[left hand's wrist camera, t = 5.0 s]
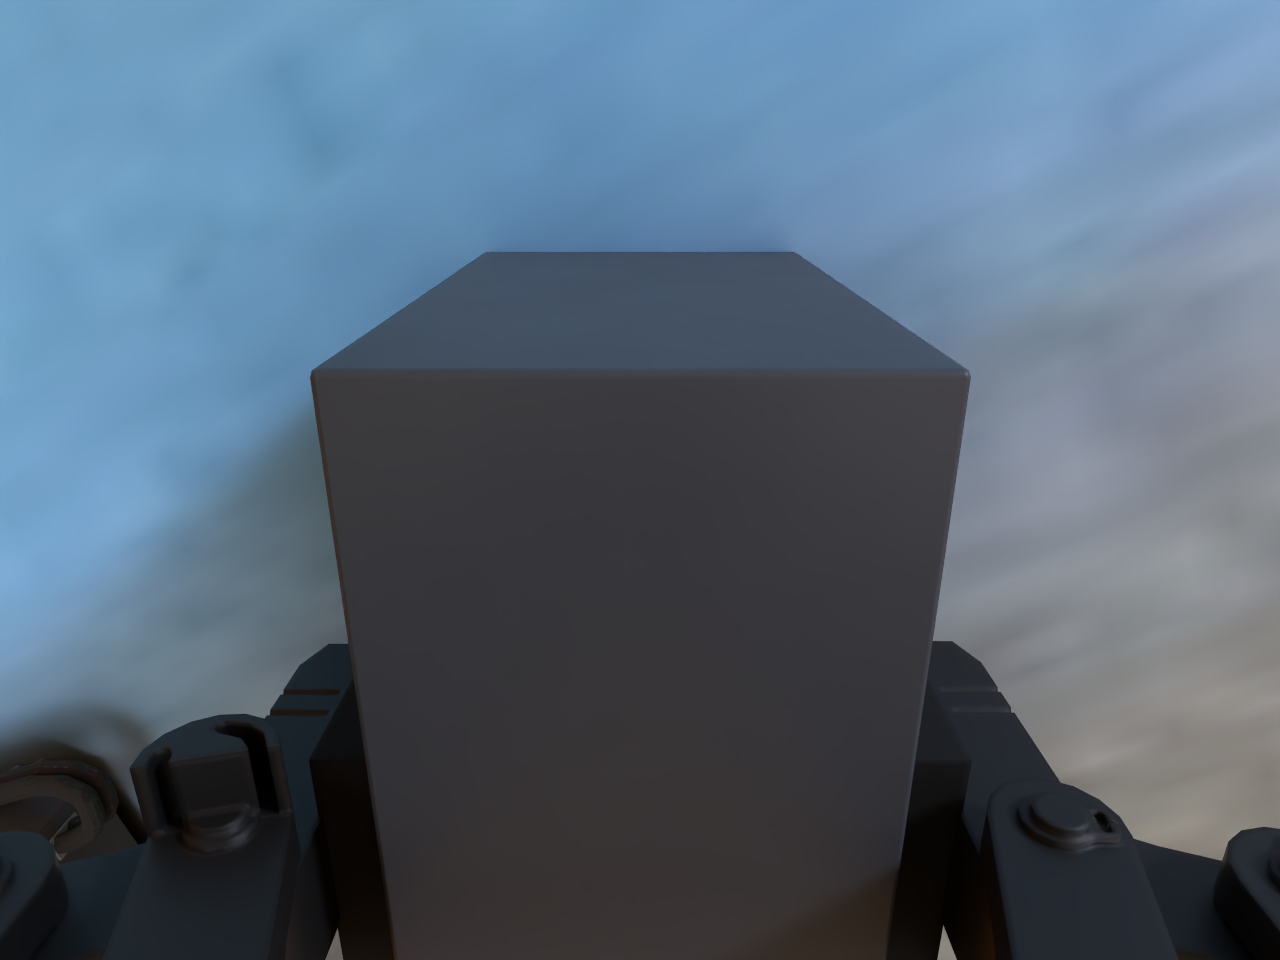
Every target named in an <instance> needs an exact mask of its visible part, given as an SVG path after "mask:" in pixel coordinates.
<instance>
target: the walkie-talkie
mask: <svg viewBox="0 0 1280 960" xmlns="http://www.w3.org/2000/svg"><path fill="white" fill-rule="evenodd" d="M118 804H119V800H118V797H117V794H116V791H115V788H114V786H113V783H112V780H111V779H110V778H109V776H108V775H107V774H106V773H105V772H104V771H102V770H101V769H99V768H96V767H94V766H91V765H89V764H87V763H84V762H82V761H79V760H46V759H43V758H40V759H38V760H37V761H36V762H35V763H32V764H29V765H27V764H19V765H16V766H13V767H12V768H11V769H10V770H8V771H4V772H2V771H0V833H2V832H9V831H16V830H19V831H25V832H32V833H38V834H41V835H42V836H43V837H45V838H46V839H47V840H48V841H49V842H50V843H52V844H53V846H54V849H55V852H56V855H57V858H58V861H59V864H63V863H67V862H72V861H76V860H80V859H84V858H89V857H93V856H97V855H102V854H106V853H110V852H115V851H119V850H123V849H127V848H130V847H133V846H136V845H138V844H137V843H136V841H135V840H134V838H133V837H132V835H131V834H130V833H129V831H128V830H127V828H126V827H125V825H124V824H123V822H122V821H121V820H120V818H119V817H118V815H117V814H116V810H117V807H118Z"/></svg>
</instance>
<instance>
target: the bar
mask: <svg viewBox="0 0 1280 960" xmlns="http://www.w3.org/2000/svg"><path fill="white" fill-rule="evenodd" d="M970 378H971V376H970V373H969V370H967V369H966V368H964V367H963V366H961V365H960V364H958V363H957V362H955V361H954V360H952V359H951V358H950V357H948V356H947V355H945V354H944V353H942V352H941V351H939V350H938V349H936V348H935V347H933V346H932V345H930V344H929V343H927V342H926V341H925V340H923V339H922V338H920V337H919V336H917V335H916V334H914V333H913V332H911V331H910V330H908V329H907V328H905V327H904V326H902V325H901V324H900V323H898V322H897V321H895V320H894V319H892V318H891V317H889V316H888V315H886V314H885V313H883V312H882V311H880V310H879V309H877V308H876V307H875V306H873V305H872V304H870V303H869V302H867V301H866V300H864V299H863V298H861V297H860V296H858V295H857V294H855V293H854V292H852V291H851V290H850V289H848V288H847V287H845V286H844V285H842V284H841V283H839V282H838V281H836V280H835V279H833V278H832V277H830V276H829V275H827V274H826V273H825V272H823V271H822V270H820V269H819V268H817V267H816V266H814V265H813V264H811V263H810V262H808V261H807V260H805V259H804V258H802V257H801V256H800V255H798V254H796V253H794V252H486V253H484V254H482V255H481V256H480V257H478V258H477V259H475V260H474V261H472V262H471V263H469V264H468V265H466V266H465V267H463V268H462V269H460V270H459V271H457V272H456V273H455V274H453V275H452V276H450V277H449V278H447V279H446V280H444V281H443V282H441V283H440V284H438V285H437V286H435V287H434V288H433V289H431V290H430V291H428V292H427V293H425V294H424V295H422V296H421V297H419V298H418V299H416V300H415V301H413V302H412V303H411V304H409V305H408V306H406V307H405V308H403V309H402V310H400V311H399V312H397V313H396V314H394V315H393V316H391V317H390V318H388V319H387V320H386V321H384V322H383V323H381V324H380V325H378V326H377V327H375V328H374V329H372V330H371V331H369V332H368V333H366V334H365V335H364V336H362V337H361V338H359V339H358V340H356V341H355V342H353V343H352V344H350V345H349V346H347V347H346V348H344V349H343V350H342V351H340V352H339V353H337V354H336V355H334V356H333V357H331V358H330V359H328V360H327V361H325V362H324V363H322V364H321V365H319V366H318V367H317V368H315V369H314V370H312V372H311V376H310V380H311V386H312V393H313V400H314V407H315V414H316V421H317V428H318V435H319V442H320V449H321V456H322V463H323V470H324V476H325V483H326V490H327V497H328V504H329V511H330V518H331V525H332V532H333V539H334V546H335V553H336V560H337V567H338V573H339V580H340V587H341V594H342V601H343V608H344V615H345V622H346V629H347V636H348V643H349V650H350V657H351V663H352V670H353V677H354V684H355V691H356V698H357V705H358V712H359V719H360V726H361V733H362V740H363V747H364V754H365V760H366V767H367V774H368V781H369V788H370V795H371V802H372V809H373V816H374V823H375V830H376V837H377V844H378V850H379V857H380V864H381V871H382V878H383V885H384V892H385V899H386V906H387V913H388V920H389V927H390V934H391V941H392V947H393V954H394V960H886V959H887V952H888V945H889V938H890V931H891V924H892V917H893V910H894V903H895V897H896V890H897V883H898V876H899V869H900V862H901V855H902V848H903V841H904V834H905V827H906V821H907V814H908V807H909V800H910V793H911V786H912V779H913V772H914V765H915V758H916V751H917V745H918V738H919V731H920V724H921V717H922V710H923V703H924V696H925V689H926V682H927V675H928V669H929V662H930V655H931V648H932V641H933V634H934V627H935V620H936V613H937V606H938V599H939V592H940V586H941V579H942V572H943V565H944V558H945V551H946V544H947V537H948V530H949V523H950V516H951V510H952V503H953V496H954V489H955V482H956V475H957V468H958V461H959V454H960V447H961V440H962V434H963V427H964V420H965V413H966V406H967V399H968V392H969V385H970Z"/></svg>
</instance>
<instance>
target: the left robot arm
mask: <svg viewBox="0 0 1280 960" xmlns="http://www.w3.org/2000/svg"><path fill="white" fill-rule="evenodd" d="M129 769H130V773H131V776H132V780H133V784H134V787H135V791H136V795H137V799H138V802H139V806H140V810H141V813H142V817H143V821H144V825H145V828H146V832H147V836H148V838H147V841H146V843H143V844H140V845H136V846H133V847H130V848H127V849H123V850H119V851H115V852H110V853H106V854H102V855H97V856H93V857H89V858H84V859H80V860H76V861H72V862H67V863H63V864H59V861H58V858H57V855H56V852H55V849H54V846H53V844H52V843H50V842H49V841H48V840H47V839H46V838H45V837H43V836H42V835H41V834H38V833H32V832H25V831H19V830H16V831H9V832H2V833H0V960H325V959H326V956H327V954H328V951H329V949H330V946H331V943H332V941H333V938H334V936H335V933H336V931H337V928H338V932H339V937H340V943H341V949H342V955H343V960H394V954H393V947H392V941H391V934H390V927H389V920H388V913H387V906H386V899H385V892H384V885H383V878H382V871H381V864H380V857H379V850H378V844H377V837H376V830H375V823H374V816H373V809H372V802H371V795H370V788H369V781H368V774H367V767H366V760H365V754H364V747H363V740H362V733H361V726H360V719H359V712H358V705H357V698H356V691H355V684H354V677H353V670H352V663H351V657H350V650H349V644H328V645H327V646H325V647H324V648H323V649H321V650H320V651H318V652H317V653H316V654H314V655H313V656H312V657H310V658H309V659H308V660H306V661H305V662H304V663H302V664H301V665H300V666H299V667H298V669H297V670H296V672H295V673H294V675H293V676H292V678H291V679H290V681H289V683H288V684H287V686H286V687H285V689H284V694H283V695H280V696H279V698H278V699H277V701H276V702H275V704H274V705H273V707H272V708H271V710H270V716H266V718H265V719H263V718H259V717H255V716H251V715H248V714H230V715H217V716H213V717H209V718H205V719H201V720H197V721H193V722H190V723H188V724H186V725H183V726H181V727H179V728H177V729H175V730H172V731H170V732H168V733H166V734H164V735H163V736H161V737H160V738H159V739H157V740H156V741H154V742H153V743H152V744H150V745H149V746H148V747H146V748H145V749H144V750H143V751H142V752H141V753H140V755H139V756H138V757H137V759H136V760H135V761H134V763H133V764H132V765H131V767H130V768H129ZM943 925H944V928H945V930H946V933H947V935H948V938H949V940H950V943H951V946H952V948H953V951H954V953H955V956H956V958H957V960H1280V829H1276V828H1269V827H1260V828H1254V829H1248V830H1241V831H1240V832H1239V833H1238V834H1237V835H1236V836H1234V837H1233V838H1232V839H1231V840H1230V841H1229V842H1228V845H1227V848H1226V851H1225V854H1224V857H1223V860H1222V861H1220V860H1215V859H1211V858H1207V857H1202V856H1198V855H1194V854H1190V853H1185V852H1181V851H1177V850H1172V849H1168V848H1164V847H1159V846H1156V845H1152V844H1149V843H1146V842H1143V841H1139V840H1136V839H1133V837H1132V835H1131V833H1130V832H1129V830H1128V829H1127V827H1126V826H1125V824H1124V823H1123V821H1122V819H1121V818H1120V817H1119V816H1118V815H1117V814H1116V813H1115V812H1113V811H1112V810H1111V809H1110V808H1109V807H1107V806H1106V805H1105V804H1104V803H1103V802H1101V801H1100V800H1099V799H1097V798H1095V797H1093V796H1091V795H1089V794H1087V793H1085V792H1083V791H1081V790H1079V789H1078V788H1076V787H1074V786H1070V785H1067V784H1063V783H1060V781H1059V780H1058V778H1057V777H1056V775H1055V774H1054V772H1053V771H1052V769H1051V768H1050V766H1049V765H1048V763H1047V761H1046V760H1045V758H1044V757H1043V755H1042V754H1041V752H1040V751H1039V749H1038V748H1037V746H1036V745H1035V743H1034V742H1033V740H1032V739H1031V737H1030V736H1029V734H1028V733H1027V731H1026V730H1025V728H1024V727H1023V725H1022V724H1021V722H1020V721H1019V719H1018V718H1017V716H1016V715H1015V713H1011V707H1010V705H1009V704H1008V702H1007V701H1006V699H1005V698H1004V696H1003V695H1002V693H1001V692H998V691H997V686H996V684H995V683H994V681H993V680H992V678H991V677H990V675H989V674H988V672H987V671H986V669H985V668H984V666H983V665H982V663H981V662H980V661H978V660H977V659H976V658H974V657H973V656H971V655H970V654H969V653H967V652H966V651H965V650H963V649H962V648H961V647H959V646H958V645H956V644H955V643H954V642H952V641H932V648H931V655H930V662H929V669H928V675H927V682H926V689H925V696H924V703H923V710H922V717H921V724H920V731H919V738H918V745H917V751H916V758H915V765H914V772H913V779H912V786H911V793H910V800H909V807H908V814H907V821H906V827H905V834H904V841H903V848H902V855H901V862H900V869H899V876H898V883H897V890H896V897H895V903H894V910H893V917H892V924H891V931H890V938H889V945H888V952H887V959H886V960H937V958H938V952H939V946H940V940H941V935H942V929H943Z"/></svg>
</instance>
